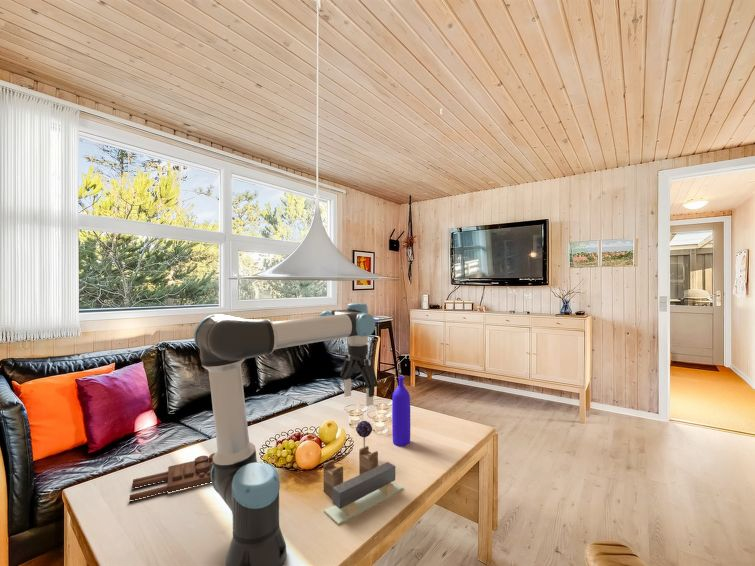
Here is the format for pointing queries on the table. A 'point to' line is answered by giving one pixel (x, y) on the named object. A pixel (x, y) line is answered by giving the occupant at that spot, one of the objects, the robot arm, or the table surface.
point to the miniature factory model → (177, 477)
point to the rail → (363, 485)
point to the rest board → (362, 503)
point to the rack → (335, 475)
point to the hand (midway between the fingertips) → (358, 400)
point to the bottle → (401, 415)
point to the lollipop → (364, 429)
